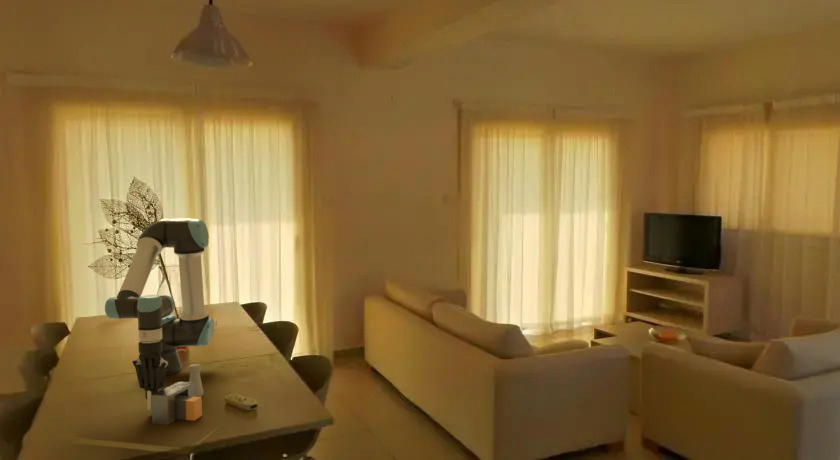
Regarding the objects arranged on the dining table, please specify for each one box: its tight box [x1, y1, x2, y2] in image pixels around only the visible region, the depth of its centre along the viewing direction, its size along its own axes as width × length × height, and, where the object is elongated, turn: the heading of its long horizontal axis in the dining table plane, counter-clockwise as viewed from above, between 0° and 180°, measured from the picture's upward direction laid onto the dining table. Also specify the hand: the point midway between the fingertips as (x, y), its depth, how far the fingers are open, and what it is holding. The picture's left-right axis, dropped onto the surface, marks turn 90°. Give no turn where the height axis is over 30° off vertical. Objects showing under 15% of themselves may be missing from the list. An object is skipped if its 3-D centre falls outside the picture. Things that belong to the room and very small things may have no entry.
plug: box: [150, 395, 203, 421], centre depth 205 cm, size 17×4×6 cm, turn 77°
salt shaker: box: [188, 363, 204, 397], centre depth 222 cm, size 6×6×13 cm
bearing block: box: [151, 381, 195, 426], centre depth 205 cm, size 6×15×10 cm, turn 167°
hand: (151, 408), depth 207 cm, fingers closed
